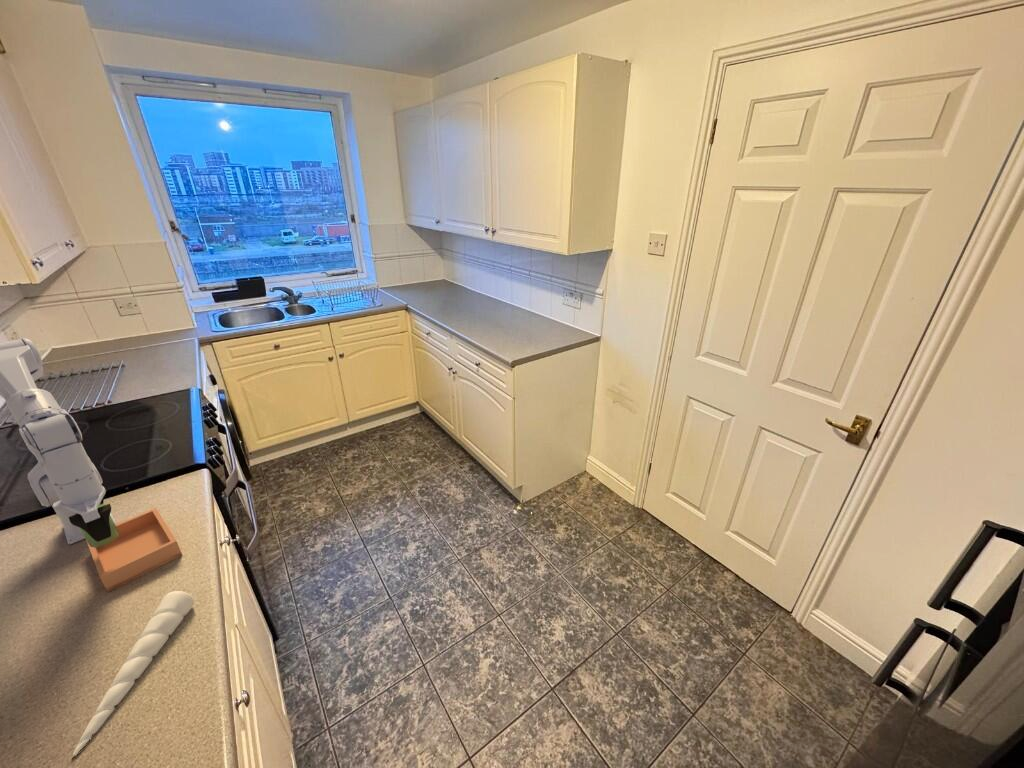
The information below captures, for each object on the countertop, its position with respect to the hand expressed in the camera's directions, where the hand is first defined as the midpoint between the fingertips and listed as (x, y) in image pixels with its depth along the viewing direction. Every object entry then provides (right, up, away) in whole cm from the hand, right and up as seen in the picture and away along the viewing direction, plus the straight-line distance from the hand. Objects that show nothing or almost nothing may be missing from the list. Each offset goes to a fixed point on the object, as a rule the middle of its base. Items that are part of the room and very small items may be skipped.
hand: (101, 532), depth 82 cm
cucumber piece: (0, -2, +1) cm, 2 cm away
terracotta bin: (+1, -7, +6) cm, 10 cm away
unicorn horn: (+22, -17, -15) cm, 31 cm away
